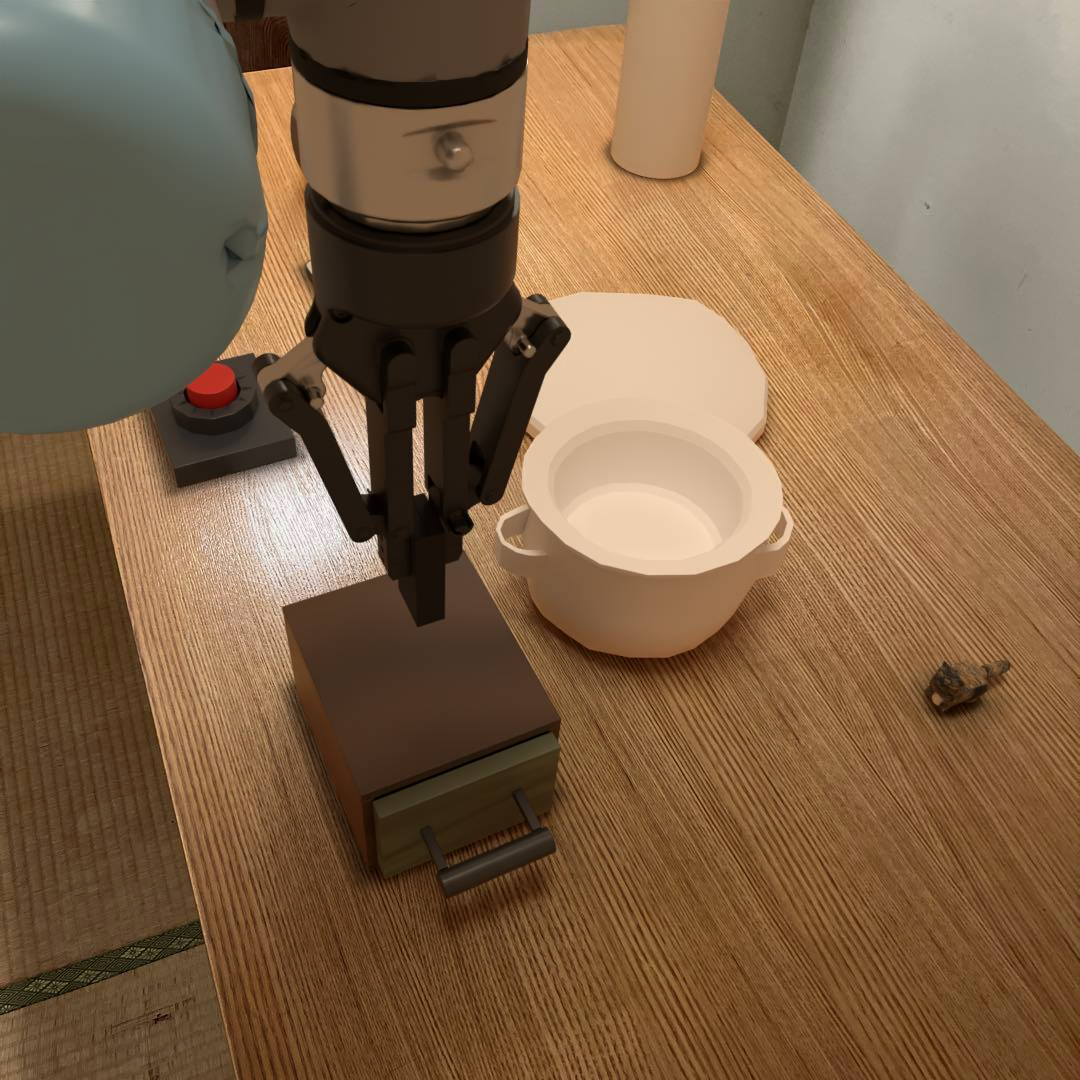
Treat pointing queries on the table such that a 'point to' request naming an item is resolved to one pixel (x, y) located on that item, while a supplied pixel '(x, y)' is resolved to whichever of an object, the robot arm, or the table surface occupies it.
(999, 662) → the cat figurine
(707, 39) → the tall pillar cylinder
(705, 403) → the decorative plate
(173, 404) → the button block
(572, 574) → the pot
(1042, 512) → the table surface
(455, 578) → the cabinet
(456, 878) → the drawer
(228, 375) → the button
